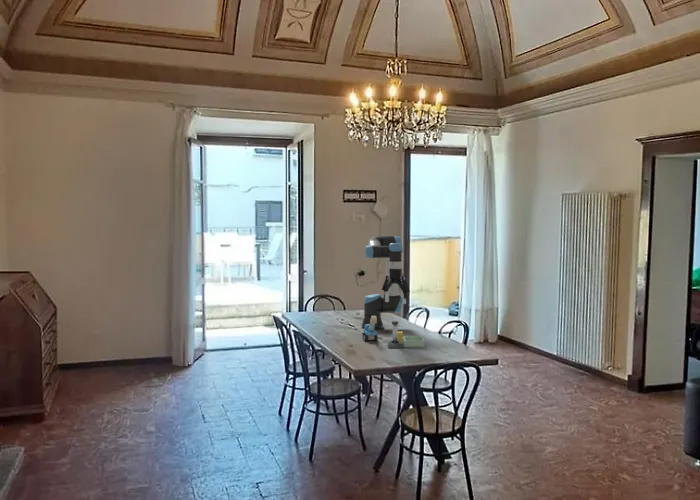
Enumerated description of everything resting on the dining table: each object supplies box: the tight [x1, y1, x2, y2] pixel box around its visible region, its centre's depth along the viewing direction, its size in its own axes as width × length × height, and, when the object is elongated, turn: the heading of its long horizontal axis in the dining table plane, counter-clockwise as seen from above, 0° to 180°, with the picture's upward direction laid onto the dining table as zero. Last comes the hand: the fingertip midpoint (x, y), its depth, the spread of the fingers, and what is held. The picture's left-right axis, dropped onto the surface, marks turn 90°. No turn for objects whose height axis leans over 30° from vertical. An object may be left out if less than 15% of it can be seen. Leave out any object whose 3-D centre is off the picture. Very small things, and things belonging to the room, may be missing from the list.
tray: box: [403, 335, 426, 349], centre depth 363 cm, size 12×12×4 cm
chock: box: [398, 331, 404, 342], centre depth 374 cm, size 4×6×6 cm, turn 89°
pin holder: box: [386, 340, 404, 349], centre depth 362 cm, size 9×9×2 cm
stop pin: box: [391, 320, 399, 343], centre depth 361 cm, size 4×4×15 cm
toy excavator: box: [361, 316, 379, 342], centre depth 376 cm, size 9×17×17 cm, turn 11°
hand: (395, 302), depth 364 cm, fingers open, 13 cm apart
